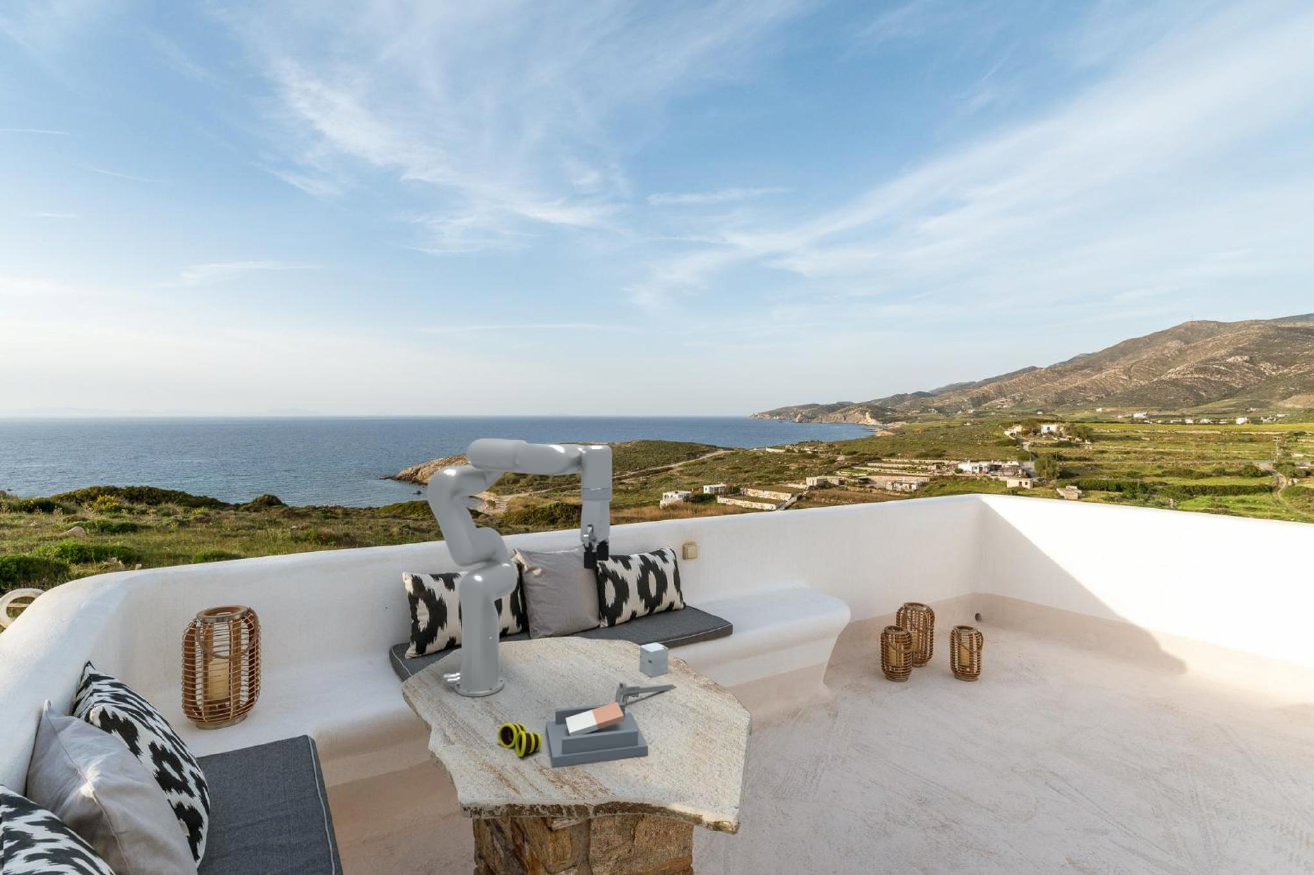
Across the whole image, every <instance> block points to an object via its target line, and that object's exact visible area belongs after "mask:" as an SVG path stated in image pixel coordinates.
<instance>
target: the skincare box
mask: <svg viewBox="0 0 1314 875" xmlns="http://www.w3.org/2000/svg"><path fill="white" fill-rule="evenodd" d="M668 666H669V647H666V646H665V645H663V644H661V643H658V642H652V643H646V644H643V645H640V647H639V670H638V671H640V672H641V673H643V674H644V675H646V676H648V677H650V678H654V677H658V676H661V675H662V676H663V675H665V674H668V672H669V670H668V669H669V667H668Z"/></svg>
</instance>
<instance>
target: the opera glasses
mask: <svg viewBox="0 0 1314 875" xmlns="http://www.w3.org/2000/svg"><path fill="white" fill-rule="evenodd" d="M497 739H498V743H499V744H500V746H501V747H503V748H506V749H510V748H512V747H514V746H515V752H516V755H517V757H518V758H522V757H523V756H524V755H526V754H527V755H528V754H531V753H532V752H538V751H540V749H541V746H542V736H541V734H540V733H539V732H536V733H533V732H529V731H527V728H526V725H524V723H510V722H507V723H503V724H502V725H500V727H499V728H498V731H497Z"/></svg>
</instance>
